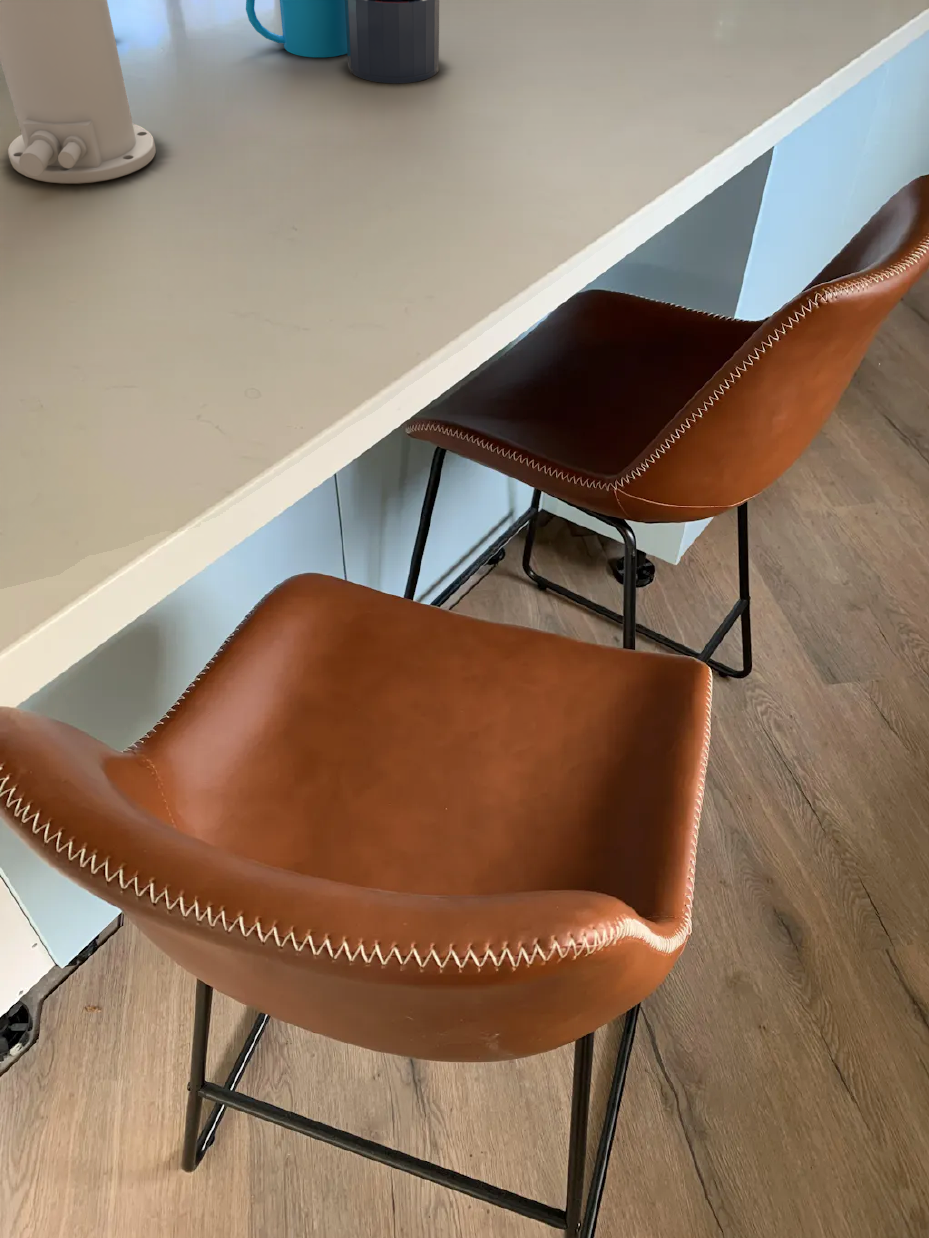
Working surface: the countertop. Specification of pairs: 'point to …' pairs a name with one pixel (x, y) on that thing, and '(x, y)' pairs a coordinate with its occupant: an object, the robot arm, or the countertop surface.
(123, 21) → the countertop surface
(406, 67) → the cup
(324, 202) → the countertop surface
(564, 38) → the countertop surface
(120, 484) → the countertop surface
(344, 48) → the mug
